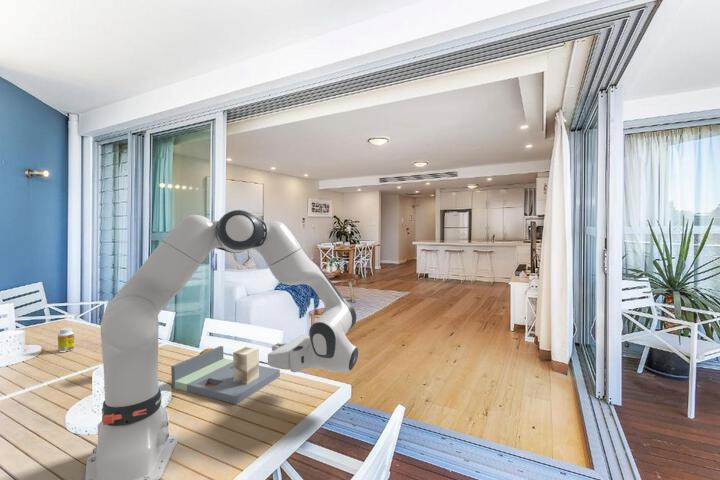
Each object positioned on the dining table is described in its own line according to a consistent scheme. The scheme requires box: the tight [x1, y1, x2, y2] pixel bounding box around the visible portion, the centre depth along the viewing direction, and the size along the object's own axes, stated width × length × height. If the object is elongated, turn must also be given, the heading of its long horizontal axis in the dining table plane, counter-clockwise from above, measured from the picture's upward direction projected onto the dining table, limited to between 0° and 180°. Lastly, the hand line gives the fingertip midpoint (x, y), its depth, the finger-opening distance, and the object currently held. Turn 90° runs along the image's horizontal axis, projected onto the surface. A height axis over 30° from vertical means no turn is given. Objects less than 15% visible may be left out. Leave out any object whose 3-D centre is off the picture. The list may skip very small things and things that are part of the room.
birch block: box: [232, 346, 260, 384], centre depth 118 cm, size 6×6×10 cm
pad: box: [174, 358, 233, 392], centre depth 126 cm, size 6×22×2 cm, turn 156°
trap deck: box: [170, 345, 281, 406], centre depth 121 cm, size 30×22×8 cm
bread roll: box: [198, 347, 213, 355], centre depth 143 cm, size 8×9×4 cm
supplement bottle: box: [57, 326, 75, 352], centre depth 154 cm, size 6×6×10 cm
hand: (274, 346), depth 113 cm, fingers closed
